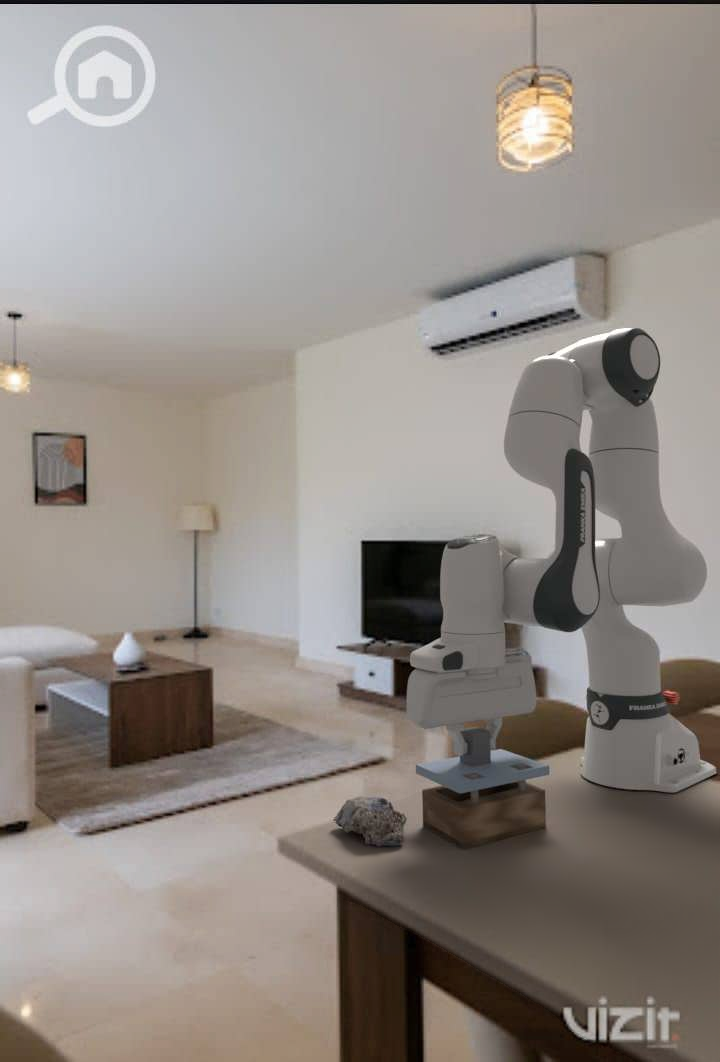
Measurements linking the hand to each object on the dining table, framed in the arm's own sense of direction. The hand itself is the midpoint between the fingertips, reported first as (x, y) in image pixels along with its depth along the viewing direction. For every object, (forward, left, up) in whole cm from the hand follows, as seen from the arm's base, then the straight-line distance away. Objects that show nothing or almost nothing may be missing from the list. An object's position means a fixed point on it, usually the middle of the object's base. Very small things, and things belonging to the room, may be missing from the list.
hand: (474, 752), depth 103 cm
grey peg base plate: (0, +1, -3) cm, 3 cm away
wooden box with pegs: (0, +1, -10) cm, 10 cm away
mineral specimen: (+14, -4, -10) cm, 18 cm away
